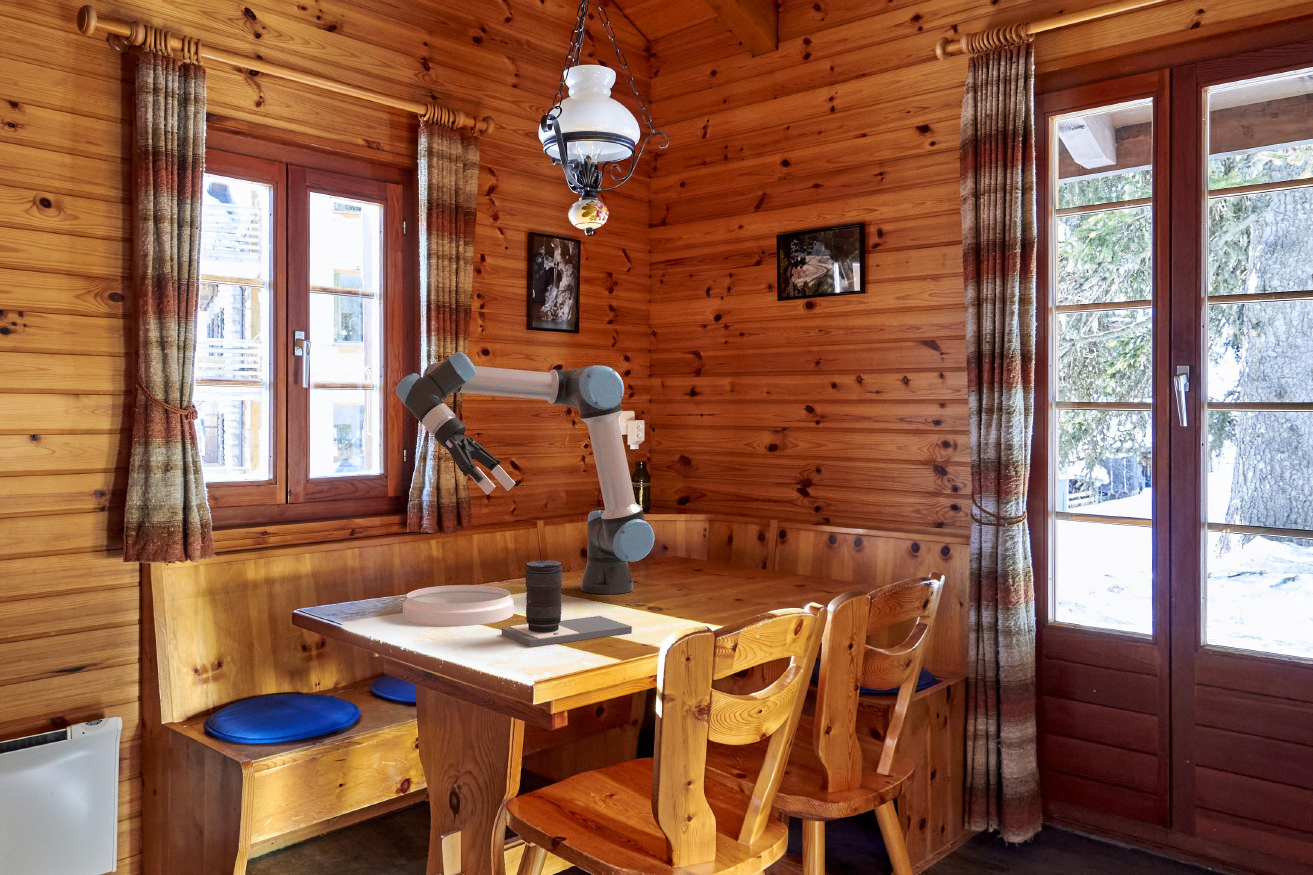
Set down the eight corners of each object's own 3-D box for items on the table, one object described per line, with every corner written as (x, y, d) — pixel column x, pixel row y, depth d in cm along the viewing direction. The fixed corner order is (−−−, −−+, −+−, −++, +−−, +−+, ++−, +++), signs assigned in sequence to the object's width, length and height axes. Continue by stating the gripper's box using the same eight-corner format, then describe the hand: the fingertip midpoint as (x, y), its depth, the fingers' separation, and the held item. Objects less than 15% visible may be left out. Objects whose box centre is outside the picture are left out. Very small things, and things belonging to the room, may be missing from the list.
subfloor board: (599, 621, 225) (599, 614, 225) (631, 632, 214) (631, 624, 214) (501, 634, 210) (501, 626, 210) (530, 647, 199) (530, 638, 199)
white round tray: (479, 631, 215) (479, 607, 214) (379, 621, 223) (380, 598, 223) (532, 609, 240) (532, 588, 240) (441, 601, 249) (441, 581, 249)
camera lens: (518, 628, 209) (519, 561, 209) (549, 624, 214) (550, 559, 213) (536, 635, 202) (537, 566, 202) (568, 630, 207) (569, 563, 207)
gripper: (455, 436, 243) (509, 495, 240) (411, 437, 218) (471, 503, 216) (475, 416, 242) (529, 475, 239) (433, 415, 217) (493, 481, 214)
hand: (501, 488), depth 227 cm, fingers open, 13 cm apart
